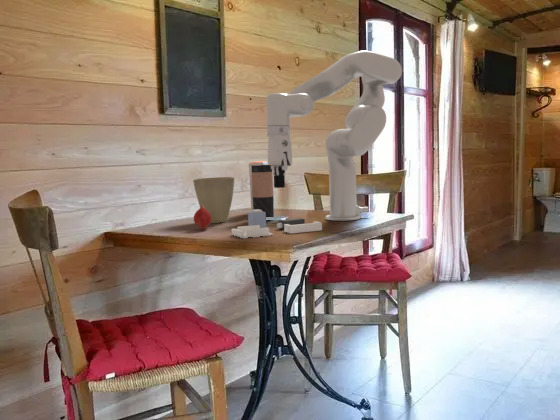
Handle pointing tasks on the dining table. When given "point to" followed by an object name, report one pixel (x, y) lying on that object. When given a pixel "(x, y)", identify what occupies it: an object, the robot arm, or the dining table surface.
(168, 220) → the dining table surface
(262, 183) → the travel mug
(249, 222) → the block
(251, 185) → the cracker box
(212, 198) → the plant pot
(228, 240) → the dining table surface
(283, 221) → the dark grey bar
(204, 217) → the onion
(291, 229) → the clip
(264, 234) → the holder
